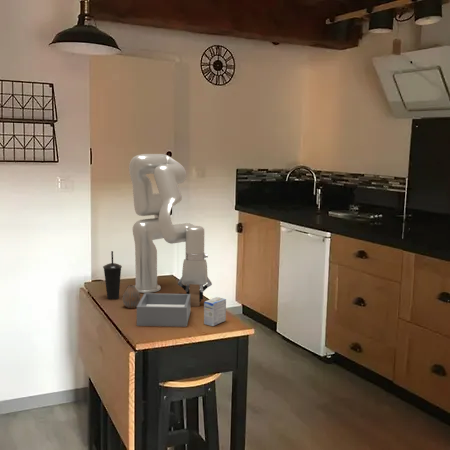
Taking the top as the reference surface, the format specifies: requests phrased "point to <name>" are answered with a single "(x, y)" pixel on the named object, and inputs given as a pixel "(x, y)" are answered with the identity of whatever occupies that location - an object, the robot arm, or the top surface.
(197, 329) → the top surface
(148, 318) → the open box
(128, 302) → the vase
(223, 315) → the medicine box
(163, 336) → the top surface
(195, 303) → the peg
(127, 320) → the top surface
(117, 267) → the drinking cup
